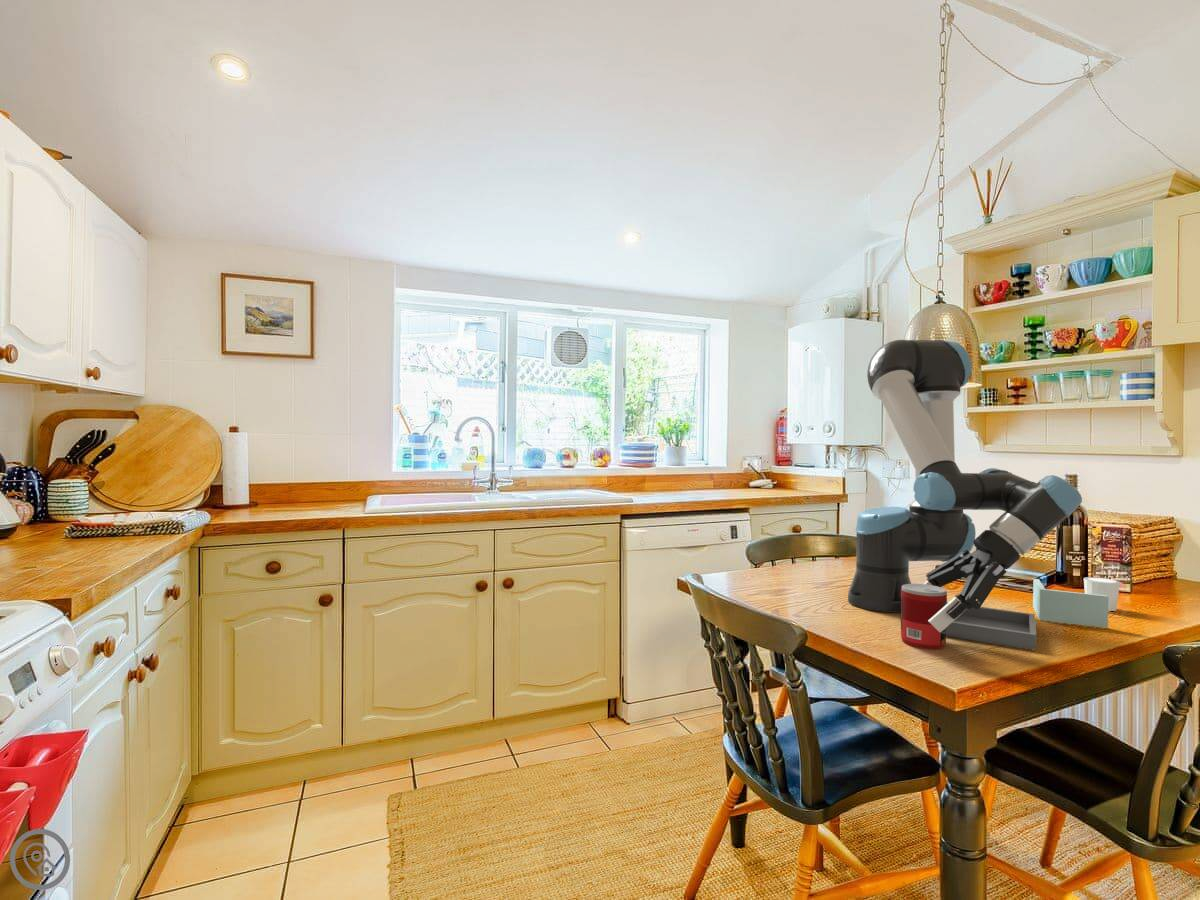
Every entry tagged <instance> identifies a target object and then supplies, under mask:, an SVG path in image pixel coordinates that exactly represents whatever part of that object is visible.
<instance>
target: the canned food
mask: <svg viewBox="0 0 1200 900" xmlns="http://www.w3.org/2000/svg"><path fill="white" fill-rule="evenodd" d="M947 593H948V592H947V589H946V588H943V587H938V586H933V585H926V584H924V583H911V584H905V585H902V589H901V612H900V637H901V638H900V639H901V641H902V642H903V643H904V644H906V645H908V646H911V647H914V648H918V649H926V650H939V649H943V648H945V646H946V643H947V636H946V628H945V629H944V630H943V631H942V632H939V631H938V630H937V629H936V628H935V627H934V626H933V625H932V624H931V623H930V622H929V621H928V620H929V619H930V618H932V617H933V616H934V615H935V614H936V613H937V612H938V611H940V610H941V609H942V608H943V607H944V606H945V605H946V604H947V602H948V594H947Z"/></svg>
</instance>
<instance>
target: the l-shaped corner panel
mask: <svg viewBox="0 0 1200 900" xmlns="http://www.w3.org/2000/svg"><path fill="white" fill-rule="evenodd" d="M1032 582H1033V583H1032V585H1033V589H1032V592H1033V593H1032V609H1033V608H1034V609H1033V611H1034V610H1035V611H1034V613H1035V612H1036V613H1035V615H1036V614H1037V615H1036V617H1037V616H1038V617H1037V618H1039V619H1038V620H1043V621H1042V622H1047V621H1051V622H1050V623H1055V622H1060V623H1059V624H1063V623H1068V624H1067V625H1071V624H1078V625H1077V626H1079V625H1086V626H1085V627H1087V626H1095V627H1094V628H1096V627H1105V628H1109V612H1108V601H1109V596H1107V595H1097V594H1087V593H1085V592H1075V591H1065V590H1058V589H1057V590H1056V589H1048V588H1047V589H1046V588H1045V586H1044V585H1043V584H1042V582H1041V580H1040V579H1038V578H1033V581H1032Z"/></svg>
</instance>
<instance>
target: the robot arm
mask: <svg viewBox="0 0 1200 900" xmlns="http://www.w3.org/2000/svg"><path fill="white" fill-rule="evenodd" d="M972 368H973V367H972V360H971V357H970V354H969V352H968V350H967V349H966V348H965V347H964V346H963V345H962V344H961V343H959V342H957V341H950V340H943V339H939V340H937V339H935V340H934V339H931V340H929V339H925V340H923V339H921V340H920V339H918V340H917V339H895V340H892V341H889V342H887V343H885V344H883V345H882V346H880V347H879V348H878V349H877V350H876V351H875V353H874V354H873V355H872V357H871V359H870V361H869V363H868V367H867V372H866V373H867V383H868V387H869V389H870V390H871V392H872V395H873V397H874V398H876V399H877V400H881V402H882V405H883V407H884V408H885V411H886V413H887V415H888V417H889V419H890V421H891V423H892V425H893V427H894V429H895V431H896V433H897V436H898V438H899V439H900V441H901V443H902V445H903V448H904V449H905V451H906V453H907V455H908V457H909V460H910V462H911V464H912V466H913V468H914V472H915V480H914V482H913V490H912V491H913V492H914V496H913V497H914V500H913V501H912V502H911V503H910V504H909V505H908V506H909V507H908V508H909V509H908V508H907V507H902V506H901V507H900V506H889V507H888V506H885V507H884V506H883V507H881V506H880V507H873V508H869V509H864V510H862V511H860V512H859V514H858V515H857V520H856V528H855V532H856V539H855V543H856V545H855V547H856V549H855V550H856V551H855V552H856V553H855V554H856V561H855V563H856V564H855V566H856V568H855V572H854V573H855V574H854V576H853V577H852V581H851V583H850V585H849V589H848V593H847V602H848V603H849V604H851V605H852V606H855V607H857V608H860V609H861V608H862V609H865V610H869V611H876V612H884V613H901V589H902V585H905V584H912V582H911V579H910V575H909V569H910V567H909V565H910V562H931V561H932V562H936V561H937V562H939V561H940V562H944V563H942V564H940V565H939V566H937V567H935V568H934V569H932V570H931V571H929V572H927V573H926V574H925V577H926V581H925V582H924V583H923V584H926V585H933V586H938V587H941V588H943V586H946V585H948V584H951V583H953V582H956V581H958V580H960V579H962V578H963V579H965V582H964V585H963V587H962V589H961V591H960V593H957V594H954V596H955V597H953V598H952V599H950V601H948V603H947V604H946V605H945V606H944V607H943V608H942V609H941V610H940V611H938V612H937V613H936V614H935V615H934V616H933V617H932V618H930V619H929V620H928V621H929V622H930V623H931V624H932V625H933V626H934V627H935V628H936V629H937V630H938V631H939V632H942V631H943V630H944V629H945V628H946V627H947V626H948V625H950V624H951V623H952V622H953V621H954V620H955V619H956V618H958V617H959V616H960V615H961V614H962V613H963V612H964V611H966V610H967V608H968V609H971V608H972V607H974V608H975V609H979V608H980V607H982V606H983V603H984V602H985V601H986V599H987V598H988V596H989V595H990V594H991V592H992V591H993V589H994V587H996V585H997V583H998V582H999V580H1000V579H1001V578H1002V577H1003V576H1004V575H1005V574H1006V573H1007V570H1008V569H1010V568H1011V567H1012V566H1013V565H1015V563H1016V562H1018V561H1019V560H1020V559H1021V556H1020V555H1025V554H1026V553H1027V552H1029V551H1030V550H1033V549H1035V545H1037V544H1038V543H1039V542H1040V541H1041V540H1043V539H1044V538H1045V537H1046V536H1047V535H1048V534H1049V533H1051V531H1053V530H1054V529H1056V527H1058V526H1059V525H1060V524H1061V523H1062V522H1064V521H1065V520H1066V519H1067V518H1069V517H1071V515H1072V513H1073V512H1074V511H1075V510H1076V509H1078V507H1079V506H1080V505H1081V504H1082V501H1083V497H1082V495H1081V493H1080V492H1079V490H1077V488H1076V487H1075V486H1074V485H1072V484H1071V483H1069V482H1068V481H1067V480H1065V479H1064V478H1063V477H1062V478H1061V477H1060V476H1057V475H1054V474H1051V475H1046V476H1044V477H1043V478H1041V479H1039V480H1038V482H1035V481H1031V480H1029V479H1026V478H1023V477H1021V476H1019V475H1017V474H1013V473H1012V472H1010V471H1007V470H1004V469H999V468H994V467H993V468H991V467H990V468H987V469H985V470H983V471H980V472H979V473H977V472H974V473H973V472H970V473H968V472H962V471H961V470H960V468H959V467H958V465H957V463H956V462H955V460H956V458H955V422H954V421H955V418H954V415H955V414H954V402H955V399H957V398H958V397H959V396H960V395H961V388H962V387H964V386H965V385H966V384H967V383H968V382H969V380H970V379H969V377H971V374H972ZM964 510H967V511H968V510H970V511H971V510H972V511H973V510H974V511H977V510H978V511H979V510H980V511H985V510H986V511H987V510H988V511H992V510H993V511H995V510H996V511H997V510H998V511H1003V513H1002V514H1001V515H1000V516H999V517H997V519H995V520H994V521H993V522H992V523H991V524H990V525H989V529H985V530H984V531H982V532H981V533H980V534H979V535H978V536H977V537H976V526H975V524H974V523H973V520H972V518H971V517H970V516H969V515H968V514H966V513H964ZM973 547H975V548H976V549H975V550H974V551H973V552H971V551H972V549H973Z"/></svg>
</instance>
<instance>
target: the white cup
mask: <svg viewBox="0 0 1200 900" xmlns="http://www.w3.org/2000/svg"><path fill="white" fill-rule="evenodd" d="M1120 585H1121V582H1120V581H1119V580H1116V579H1110V578H1106V577H1098V576H1097V577H1094V576H1087V577H1083V587H1084V593H1087V594H1097V595H1107V596H1109V601H1108V611H1116V612H1117V606H1118V600H1119V593H1120V592H1119V591H1120V588H1121V587H1120Z"/></svg>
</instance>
